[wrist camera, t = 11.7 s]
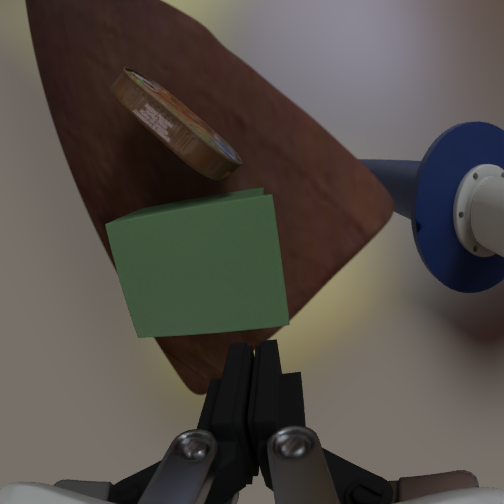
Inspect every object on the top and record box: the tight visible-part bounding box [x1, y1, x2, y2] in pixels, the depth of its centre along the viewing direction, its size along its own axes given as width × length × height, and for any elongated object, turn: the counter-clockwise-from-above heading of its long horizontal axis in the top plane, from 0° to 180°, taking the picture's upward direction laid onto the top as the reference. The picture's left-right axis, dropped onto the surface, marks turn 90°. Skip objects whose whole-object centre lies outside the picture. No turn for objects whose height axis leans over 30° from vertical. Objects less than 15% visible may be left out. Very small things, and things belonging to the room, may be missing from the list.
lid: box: [105, 194, 289, 338], centre depth 26 cm, size 14×11×1 cm
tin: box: [110, 67, 243, 181], centre depth 26 cm, size 15×3×8 cm, turn 46°
